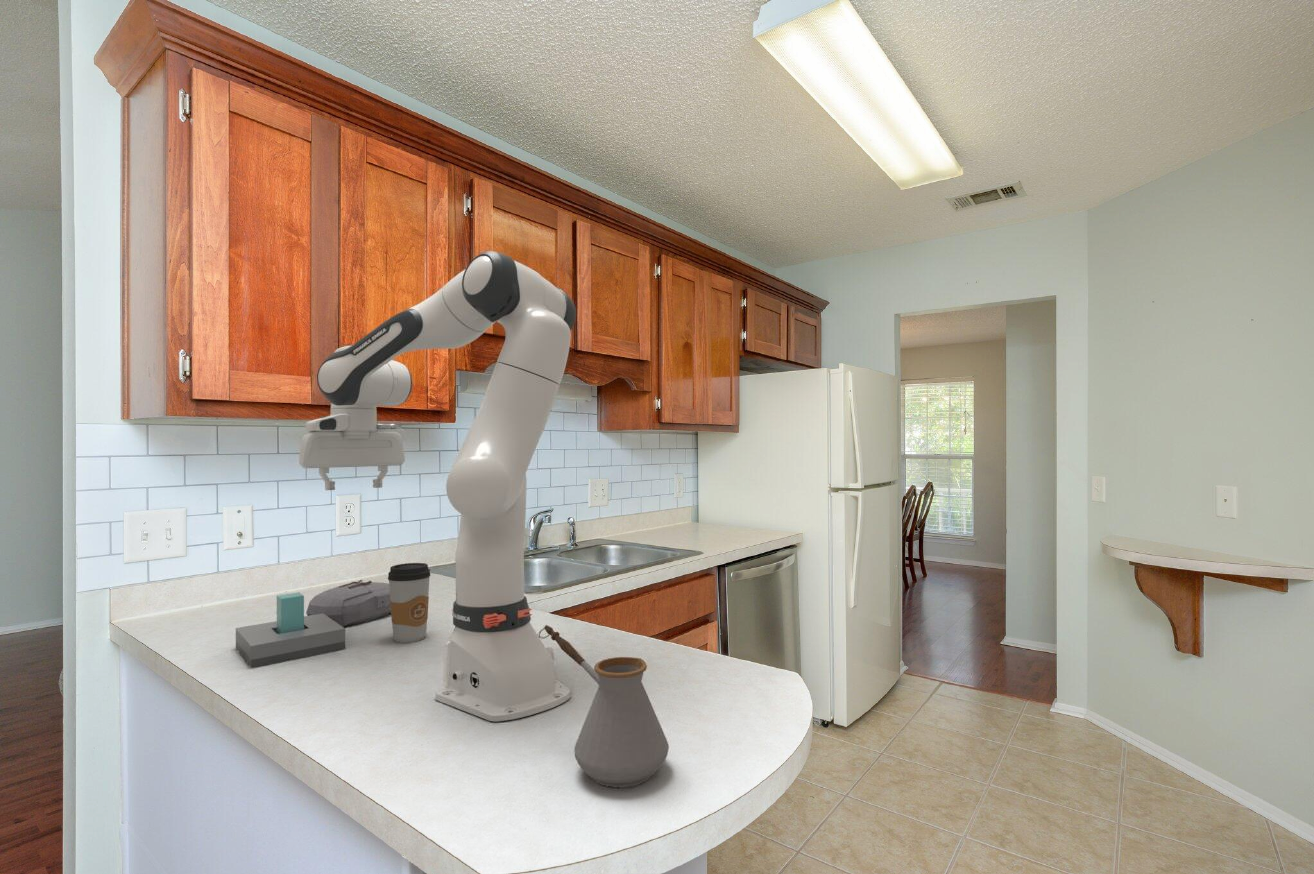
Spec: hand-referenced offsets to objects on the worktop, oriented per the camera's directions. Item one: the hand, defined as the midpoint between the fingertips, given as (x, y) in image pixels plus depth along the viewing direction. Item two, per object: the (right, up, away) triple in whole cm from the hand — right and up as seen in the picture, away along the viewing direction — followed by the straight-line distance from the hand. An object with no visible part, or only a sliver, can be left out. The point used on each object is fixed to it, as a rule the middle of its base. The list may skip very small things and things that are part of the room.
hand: (354, 488), depth 136 cm
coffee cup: (+12, -31, -2) cm, 34 cm away
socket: (-9, -31, -8) cm, 33 cm away
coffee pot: (+56, -30, -54) cm, 83 cm away
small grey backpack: (-7, -32, +15) cm, 36 cm away
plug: (-9, -30, -7) cm, 32 cm away
